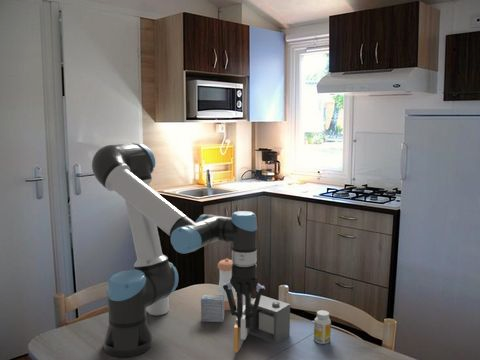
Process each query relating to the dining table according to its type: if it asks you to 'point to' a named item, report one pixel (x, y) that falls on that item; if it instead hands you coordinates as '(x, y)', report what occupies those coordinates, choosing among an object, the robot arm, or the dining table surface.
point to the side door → (238, 335)
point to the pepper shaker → (225, 280)
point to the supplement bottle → (322, 327)
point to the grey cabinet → (270, 320)
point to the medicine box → (212, 308)
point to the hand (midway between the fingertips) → (243, 337)
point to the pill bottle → (159, 307)
